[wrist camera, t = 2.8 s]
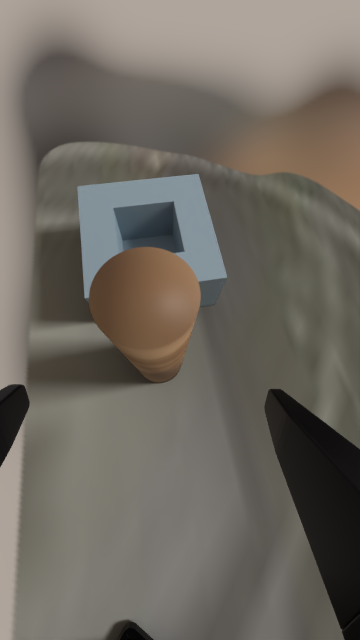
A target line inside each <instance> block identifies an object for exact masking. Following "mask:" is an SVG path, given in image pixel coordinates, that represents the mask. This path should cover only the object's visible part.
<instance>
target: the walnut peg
mask: <svg viewBox="0 0 360 640" xmlns="http://www.w3.org/2000/svg"><path fill="white" fill-rule="evenodd" d="M200 300H201V292H200V286H199V283H198V279H197V277H196V275H195V273H194V272H193V270H192V269H191V267H190V266H189V265H188V264H187V263H186V262H185V261H184V260H183V259H181V258H180V257H179V256H177V255H175V254H174V253H172V252H169V251H167V250H164V249H160V248H154V247H138V248H132V249H129V250H125V251H123V252H121V253H118V254H117V255H115V256H113V257H112V258H110V259H109V260H108V261H107V262H106V263H104V264H103V265H102V267H101V268H100V269H99V270H98V272H97V273H96V275H95V276H94V279H93V281H92V283H91V287H90V291H89V307H90V311H91V314H92V317H93V319H94V321H95V323H96V324H97V326H98V327H99V329H100V330H101V331H102V332H103V333H104V334H105V335H106V336H107V337H108V338H109V339H110V340H111V342H112V343H113V344H114V345H115V346H116V347H117V348H118V349H119V350H120V351H121V352H122V353H123V354H124V355H125V356H126V358H127V359H128V360H129V361H130V362H131V363H132V364H133V365H134V366H135V367H136V368H137V369H138V370H139V371H140V373H141V374H142V375H143V376H144V377H145V378H146V379H148V380H150V381H152V382H155V383H164V382H167V381H169V380H171V379H173V378H174V377H175V376H176V375H177V373H178V372H179V370H180V367H181V364H182V361H183V358H184V355H185V352H186V348H187V345H188V342H189V339H190V336H191V332H192V329H193V326H194V323H195V320H196V317H197V313H198V310H199V306H200Z"/></svg>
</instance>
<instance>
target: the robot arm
mask: <svg viewBox="0 0 360 640" xmlns="http://www.w3.org/2000/svg"><path fill="white" fill-rule="evenodd" d="M28 408H29V398H28V395H27V392H26V389H25V386H24V385H19V384H14V385H9V386H7V387H5V388H3V389H1V390H0V467H1V465H2V463H3V461H4V460H5V457H6V456H7V454H8V452H9V450H10V448H11V446H12V444H13V442H14V440H15V437H16V435H17V433H18V431H19V429H20V426H21V424H22V422H23V420H24V418H25V415H26V413H27V411H28ZM265 414H266V418H267V421H268V425H269V429H270V433H271V437H272V441H273V445H274V448H275V452H276V455H277V458H278V460H279V463H280V466H281V468H282V471H283V474H284V477H285V479H286V482H287V485H288V487H289V490H290V493H291V495H292V498H293V501H294V504H295V506H296V509H297V512H298V514H299V517H300V520H301V522H302V525H303V528H304V531H305V533H306V536H307V539H308V541H309V544H310V547H311V549H312V552H313V555H314V557H315V560H316V563H317V566H318V568H319V571H320V574H321V576H322V579H323V582H324V584H325V587H326V590H327V593H328V595H329V598H330V601H331V603H332V606H333V609H334V611H335V614H336V617H337V620H338V622H339V625H340V628H341V629H342V634H343V636H344V639H345V640H360V449H359V448H357V447H356V446H355V445H353V444H352V443H351V442H349V441H348V440H347V439H346V438H344V437H343V436H342V435H340V434H339V433H338V432H336V431H335V430H334V429H332V428H331V427H330V426H329V425H327V424H326V423H325V422H323V421H322V420H321V419H319V418H318V417H317V416H315V415H314V414H313V413H311V412H310V411H309V410H308V409H306V408H305V407H304V406H302V405H301V404H300V403H298V402H297V401H296V400H294V399H293V398H292V397H291V396H289V395H288V394H287V393H285V392H284V391H283V390H281V389H270V390H269V391H268V394H267V398H266V402H265ZM130 633H131V634H133V635H134V638H133V639H129V638H128V637H127V635H128V634H130ZM118 640H153V639H152V638H151V637H150V636H149V635H148V634H147V633H146V632H145V631H144V630H142V629H141V628H140V627H139V626H138V625H137V624H136V623H134V622H130V623H128V624H127V625H126V626H125V627H124V629H123V631H122V633H121V634H120V636H119V638H118Z"/></svg>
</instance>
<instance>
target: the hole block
mask: <svg viewBox="0 0 360 640" xmlns="http://www.w3.org/2000/svg"><path fill="white" fill-rule="evenodd" d="M78 201H79V217H80V233H81V249H82V265H83V281H84V297H85V299H86V301H87V302H88V303H89V291H90V287H91V283H92V281H93V279H94V276H95V275H96V273H97V272H98V270H99V269H100V268H101V267H102V265H103V264H104V263H106V262H107V261H108V260H109V259H110V258H112V257H113V256H115V255H117V254H118V253H121V252H123V251H125V250H129V249H132V248H138V247H154V248H160V249H164V250H167V251H169V252H172V253H174V254H175V255H177V256H179V257H180V258H181V259H183V260H184V261H185V262H186V263H187V264H188V265H189V266H190V267H191V269H192V270H193V272H194V273H195V275H196V277H197V279H198V283H199V286H200V292H201V300H200V306H199V307H202V306H208V305H215V303H216V301H217V299H218V296H219V294H220V292H221V290H222V288H223V286H224V283H225V281H226V279H227V275H226V271H225V268H224V264H223V261H222V257H221V253H220V250H219V246H218V243H217V239H216V235H215V232H214V228H213V225H212V221H211V217H210V214H209V210H208V207H207V203H206V199H205V196H204V192H203V189H202V185H201V181H200V178H199V174H194V175H184V176H174V177H164V178H155V179H145V180H135V181H125V182H115V183H105V184H95V185H85V186H78Z"/></svg>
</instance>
